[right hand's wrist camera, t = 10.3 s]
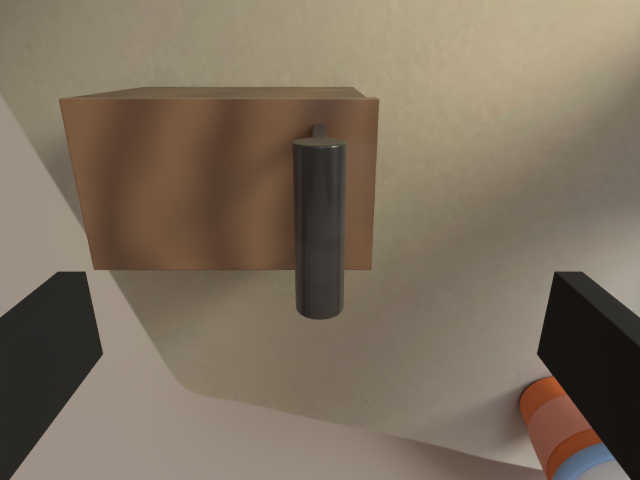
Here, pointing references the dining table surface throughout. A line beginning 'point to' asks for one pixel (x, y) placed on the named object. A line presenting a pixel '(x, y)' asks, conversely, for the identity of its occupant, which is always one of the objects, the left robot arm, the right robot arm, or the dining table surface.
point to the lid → (229, 186)
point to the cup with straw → (565, 436)
